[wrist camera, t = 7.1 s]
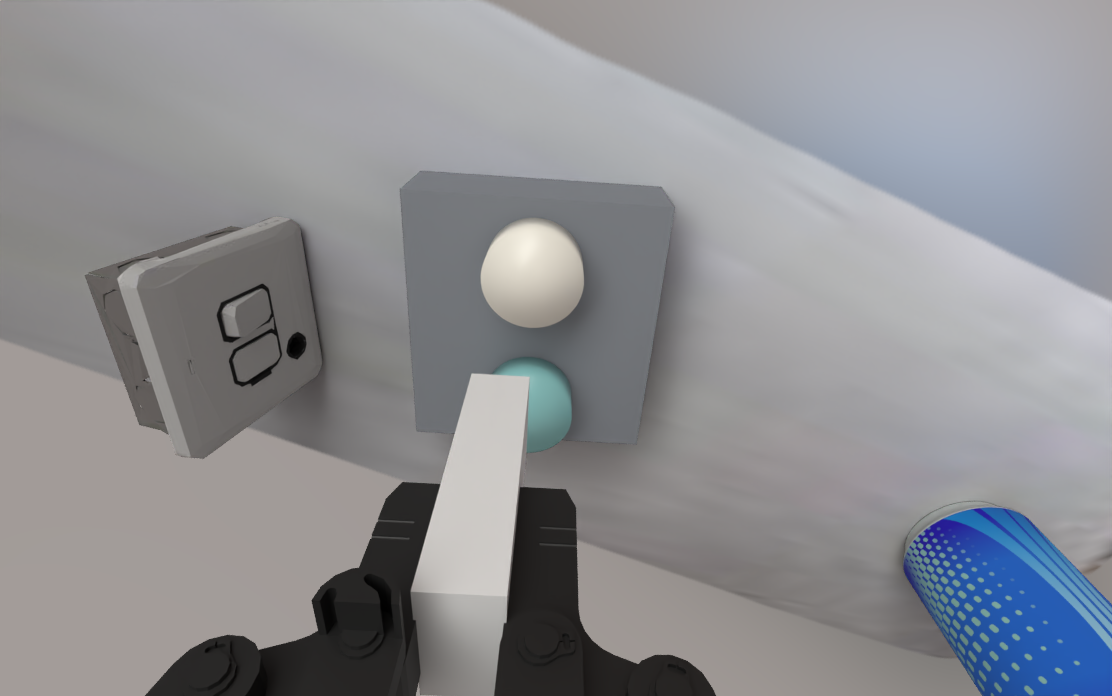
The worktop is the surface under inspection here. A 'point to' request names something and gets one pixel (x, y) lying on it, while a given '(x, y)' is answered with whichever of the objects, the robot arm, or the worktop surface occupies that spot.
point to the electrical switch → (211, 330)
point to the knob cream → (533, 273)
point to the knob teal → (543, 400)
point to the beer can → (1010, 603)
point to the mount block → (571, 344)
